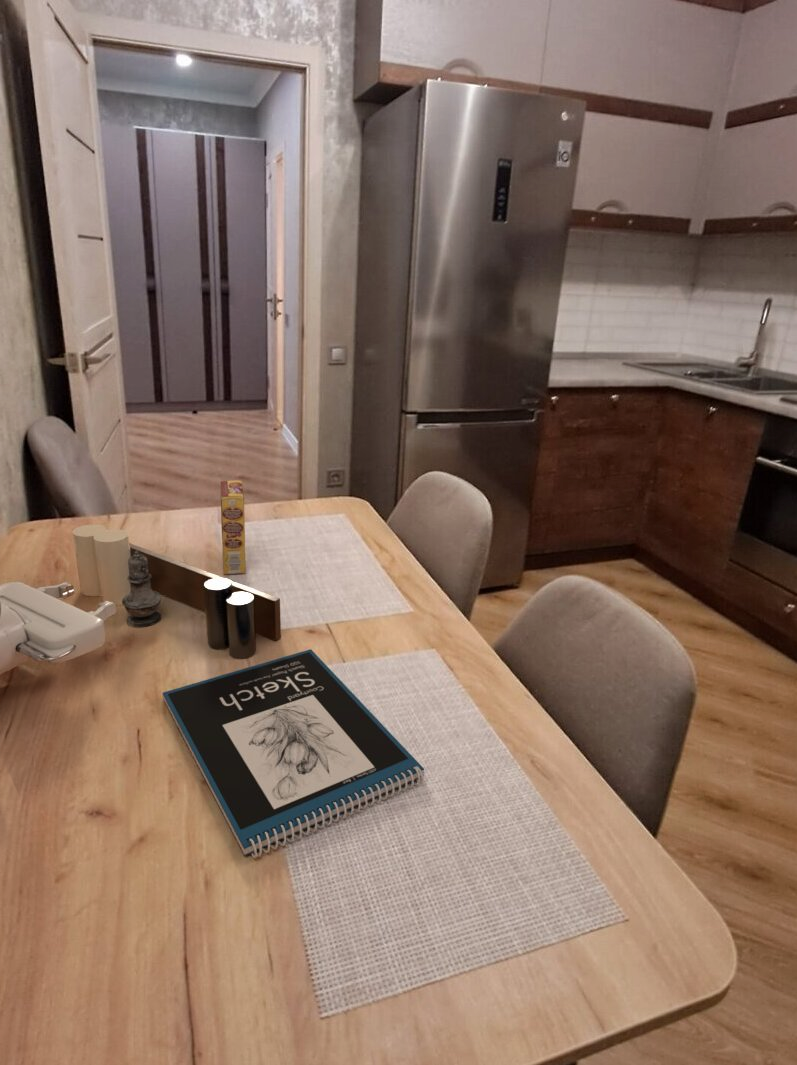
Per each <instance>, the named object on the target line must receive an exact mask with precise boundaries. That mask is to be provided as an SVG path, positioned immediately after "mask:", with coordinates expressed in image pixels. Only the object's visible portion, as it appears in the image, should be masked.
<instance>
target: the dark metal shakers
mask: <svg viewBox="0 0 797 1065" xmlns="http://www.w3.org/2000/svg"><path fill="white" fill-rule="evenodd" d="M230 580H231V579H229V578H226V577H223V578H213V579H209V580H207V581H206V582H205V583H204V599H205V612H206V613H205V612H204V613H205V624H206V638H207V646H208V647H209V648H211V649H213V650H225V649H228V654H229V656H230V657H231V658H234V659H236V660H243V659H244V660H245V659H249V658H252V657H253V656H254V655H255V654H256V653H257V633H256V628H255V604H254V596H253V595H252V594H251V593H248V592H235V593H232V582H231V581H232V580H231V581H230Z"/></svg>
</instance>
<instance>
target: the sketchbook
mask: <svg viewBox="0 0 797 1065" xmlns="http://www.w3.org/2000/svg"><path fill="white" fill-rule="evenodd" d="M162 700H163V702H164V704H165V705H166V708H167V709H168V712H169V714H170V715H171V717H172V719H173V721H174V723H175V725H176V727H177V729H178V731H179V732H180V734H181V737H182V739H183V741H184V742H185V744H186V746H187V749H188V750H189V751H190V754H191V756H192V757H193V759H194V761H195V763H196V765H197V767H198V769H199V771H200V773H201V775H202V777H203V779H204V781H205V783H206V785H207V786H208V788H209V790H210V792H211V794H212V797H213V798H214V800H215V802H216V803H217V806H218V807H219V809H220V812H221V814H222V815H223V818H224V819H225V821H226V823H227V825H228V826H229V829H230V830H231V833H232V834H233V836H234V838H235V840H236V842H237V844H238V846H239V848H240V850H241V851H242V853H243V855H244V857H246V856H248V855H251V857H252V858H253V859H255V860H256V859H257V858H259V857H261V856H262V853H263V852H264V853H265V854H269V852H270V851H271V849H272V850H273V851H274V850H278V847H279V846H280V847H284V846H285V845H286V843H287V842H288V843H293V842H294V839H297V840H299V839H301V838H302V835H303V836H308V835H309V834H310V832H312V833H315V832H316V831H317V829H320V830H321V829H323V828H324V827H325V825H326V826H330V825H332V822H334V823H337V822H338V821H340V820H339V819H346V817H347V816H352V815H353V814H354V813H359V812H360V810H361V809H362V810H366V809H367V807H368V806H369V807H372V806H374V804H375V803H376V804H379V803H380V802H381V801H386V800H388V797H389V798H392V797H393V796H394V795H395V794H396V795H399V794H400V793H401V792H405V791H407V789H412V788H413V786H418V785H419V784H422V783H423V782H424V776H425V768H424V767H423V766H422V765H421V764H420V763H419V761H417V759H416V758H415V757H413V755H412V754H411V753H410V752H409V751H408V750H407V749H406V748H405V747H404V746H403V744H402V743H400V741H398V739H397V738H395V736H394V735H393V734H392V733H391V732H390V731H389V730H388V728H386V726H384V724H383V723H381V721H380V720H379V719H378V718H377V717H376V716H375V715H374V714H373V712H371V711H370V709H368V708H367V706H365V705H364V704H363V703H362V701H361V700H360V699H359V698H358V697H357V696H356V695H355V694H354V693H353V692H352V691H351V689H350V688H348V687H347V685H346V684H345V683H344V682H343V681H342V680H341V679H340V678H339V677H338V676H337V675H336V674H335V672H333V670H331V669H330V668H329V666H327V664H326V663H325V662H324V661H323V660H322V659H321V658H320V657H319V656H318V655H317V654H316V653H315V651H313V649H312V648H310V649H307V650H303V651H299V652H296V653H293V654H290V655H289V654H288V655H286V656H283V657H279V658H275V659H272V660H269V661H265V662H263V663H258V664H255V665H252V666H248V667H245V668H241V669H239V670H235V671H231V672H228V673H224V674H221V675H218V676H214V677H211V678H207V679H204V680H201V681H197V682H194V683H191V684H187V685H184V686H180V687H176V688H173V689H170V690H166V691H164V692H162ZM415 781H416V782H415ZM410 783H411V784H410ZM409 784H410V785H409ZM402 786H405V787H404V788H402ZM396 789H398V790H397V791H396ZM389 792H391V794H389ZM382 795H385V796H384V797H383V796H382ZM376 798H378V800H376ZM369 801H371V803H370V802H369ZM364 803H365V804H364ZM362 804H364V806H363V805H362ZM355 807H357V809H355ZM349 810H350V812H348V811H349ZM342 813H343V815H341V814H342ZM334 817H336V818H334ZM327 820H329V822H327ZM320 823H322V824H321V825H320ZM312 827H314V828H312ZM306 829H307V830H306ZM304 830H306V832H305V831H304ZM298 833H299V835H297V834H298ZM289 837H291V839H290V838H289ZM281 840H283V842H281ZM273 844H275V845H273ZM266 848H267V849H266ZM257 851H259V852H257Z"/></svg>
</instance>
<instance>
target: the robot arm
mask: <svg viewBox="0 0 797 1065" xmlns="http://www.w3.org/2000/svg"><path fill="white" fill-rule="evenodd" d="M74 594H75V590H74V585H72V584H71V583H68V582H66V581H65V582H62V583H59V584H56V585H48V586H47V585H46V586H40V587H37V588H34V587H32V586H30V585H28V584H26V583H24V582H22V581H11V582H10V581H9V582H4V583H2V584H0V675H2V674H4V673H7V672H9V671H10V670H13V669H14V668H17V667H19V666H22V664H25V663H26V662H27V661H28V659H29V657H30V658H32V659H33V660H34V661H35V662H38V663H43V662H49V663H52V664H53V663H54V664H55V663H57V664H58V663H64V662H67V661H70V660H73V659H75V658H78V657H81V656H83V655H86V654H88V653H90V652H93V651H95V650H97V649H99V648H101V647H102V646H104V644H105V643H106V641H107V632H106V625H105V621H106V620H107V618H109V617H111V616H113V615H116V613H117V606H116V605H115V603H112V602H110V601H107V600H106V601H104V602H103V601H102V602H100V603H97V609H96V610H95V611H93V610H90V611H88V612H87V611H85V610H83V609H81V608H78V607H77V606H74V605H73V604H69V603H68V602H65V601H63V600H66V599H67V598H69V597H73V596H74ZM60 599H62V600H60Z"/></svg>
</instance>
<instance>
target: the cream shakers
mask: <svg viewBox="0 0 797 1065" xmlns="http://www.w3.org/2000/svg"><path fill="white" fill-rule="evenodd" d="M71 534H72V539H73V546H74V553H75V560H76V565H77V573H78V580H79V586H80V591H81V592H80V593H81V594H82V595H84V596H85V597H86V596H87V597H101V600H102V602H104V601H106V600H107V601H110V602H112V603H115V605H116V607H119V606H120V607H121V606H124V605H123V604H122V600H123V598H124V597H125V596H126V595H128V594H130V591H131V588H130V582H129V581H128V580H127V577H128V576H129V567H128V559H129V558H130V557H131V552H130V544H129V543H130V536H129V532H128V531H126V530H125V529H118V528H117V529H116V528H115V529H114V528H113V529H107V527H106V526H105V525H102V524H96V523H95V524H93V523H92V524H84V525H81V526H78V527H75V528H74V529H73V530H72V533H71Z"/></svg>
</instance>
